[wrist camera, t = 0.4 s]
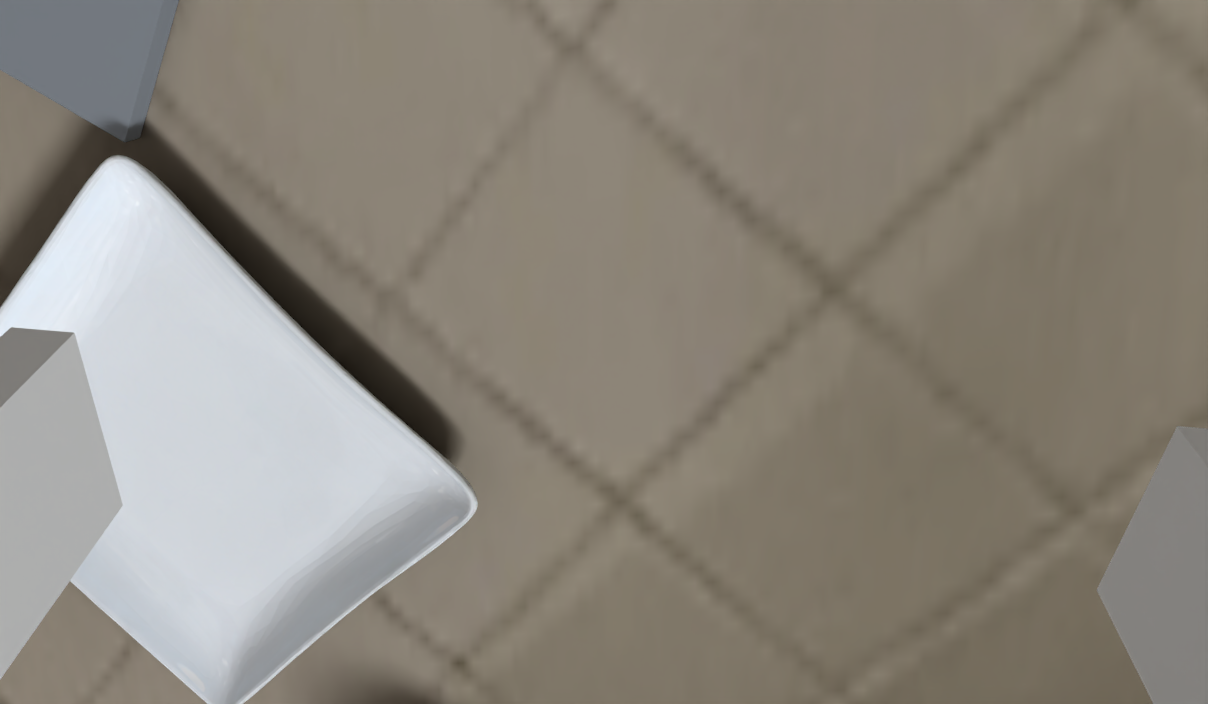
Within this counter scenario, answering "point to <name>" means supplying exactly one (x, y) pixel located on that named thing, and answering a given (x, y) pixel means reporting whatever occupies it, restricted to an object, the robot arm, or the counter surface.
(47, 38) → the rubber mat
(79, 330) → the salad plate
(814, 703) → the counter surface
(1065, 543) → the counter surface
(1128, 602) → the robot arm
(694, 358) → the counter surface
